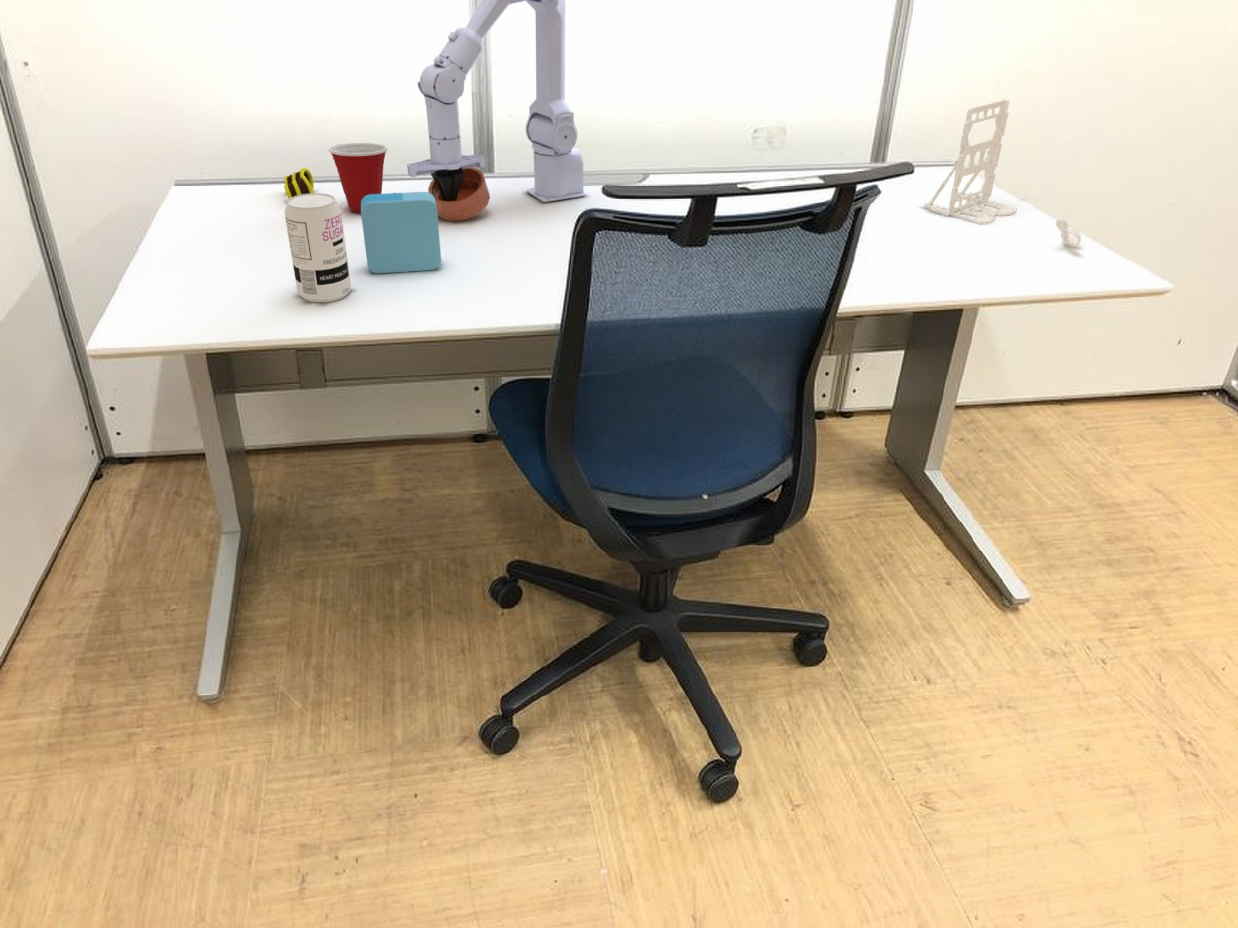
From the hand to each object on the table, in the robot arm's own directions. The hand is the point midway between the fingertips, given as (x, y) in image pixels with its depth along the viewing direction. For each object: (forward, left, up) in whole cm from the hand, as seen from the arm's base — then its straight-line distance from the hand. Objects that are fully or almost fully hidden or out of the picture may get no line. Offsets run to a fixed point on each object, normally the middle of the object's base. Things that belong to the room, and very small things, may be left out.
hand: (450, 209), depth 190 cm
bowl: (-3, -1, 0) cm, 3 cm away
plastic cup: (+12, -13, -2) cm, 18 cm away
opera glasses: (+21, -26, -2) cm, 33 cm away
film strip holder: (-93, +43, -2) cm, 102 cm away
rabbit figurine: (-91, +67, -2) cm, 113 cm away
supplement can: (+31, +25, -2) cm, 40 cm away
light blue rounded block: (+16, +20, -2) cm, 26 cm away
